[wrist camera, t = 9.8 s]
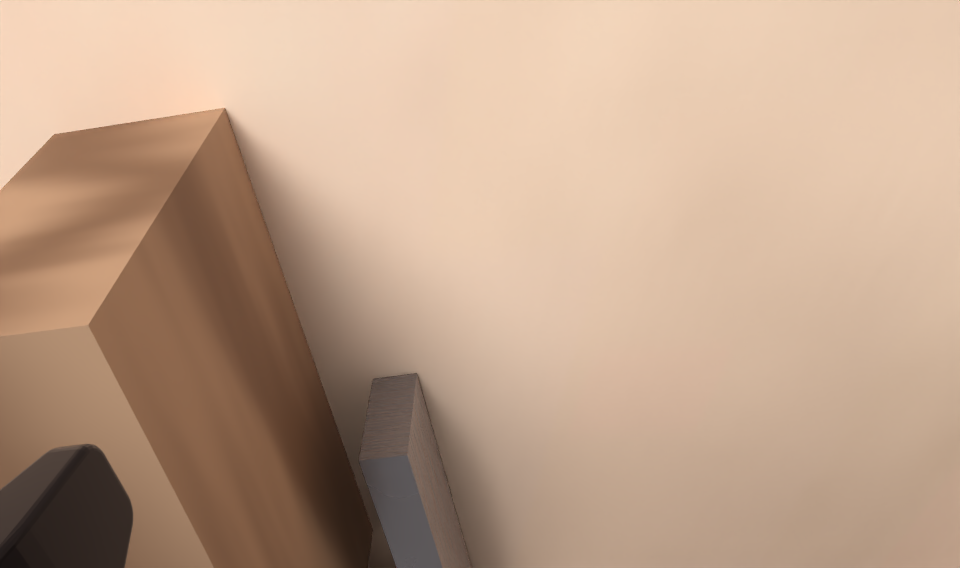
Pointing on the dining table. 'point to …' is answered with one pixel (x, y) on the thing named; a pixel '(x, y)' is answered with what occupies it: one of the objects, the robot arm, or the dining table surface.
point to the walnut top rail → (170, 349)
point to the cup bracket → (409, 478)
